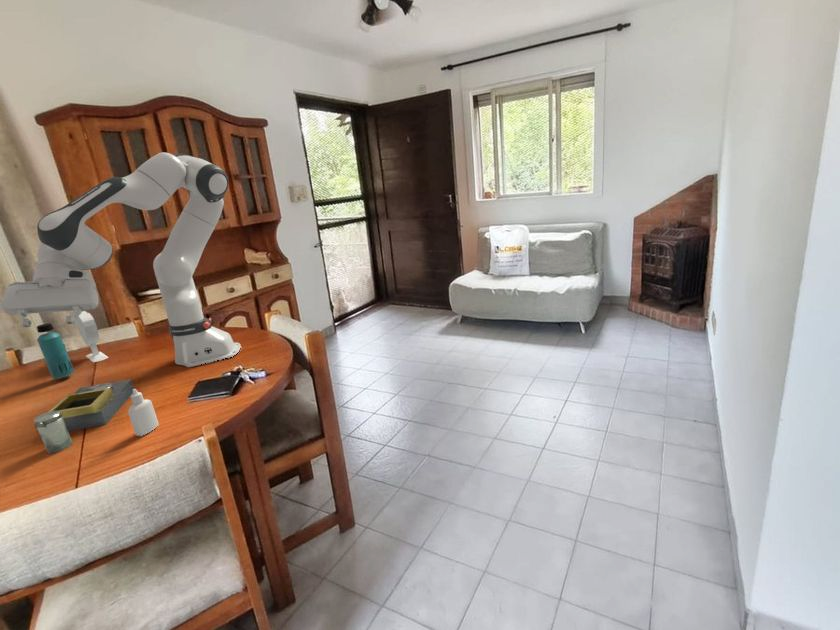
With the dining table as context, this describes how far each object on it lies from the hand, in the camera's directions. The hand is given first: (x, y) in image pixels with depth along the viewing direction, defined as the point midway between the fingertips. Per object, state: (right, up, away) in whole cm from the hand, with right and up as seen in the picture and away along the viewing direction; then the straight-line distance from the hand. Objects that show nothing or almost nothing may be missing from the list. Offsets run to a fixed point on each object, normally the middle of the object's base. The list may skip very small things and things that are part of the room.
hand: (48, 324), depth 111 cm
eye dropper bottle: (+27, -28, -1) cm, 39 cm away
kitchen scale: (+3, -25, +12) cm, 28 cm away
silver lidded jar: (+7, -31, -5) cm, 32 cm away
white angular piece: (-29, -14, +55) cm, 64 cm away
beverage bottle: (-27, -20, +37) cm, 50 cm away
